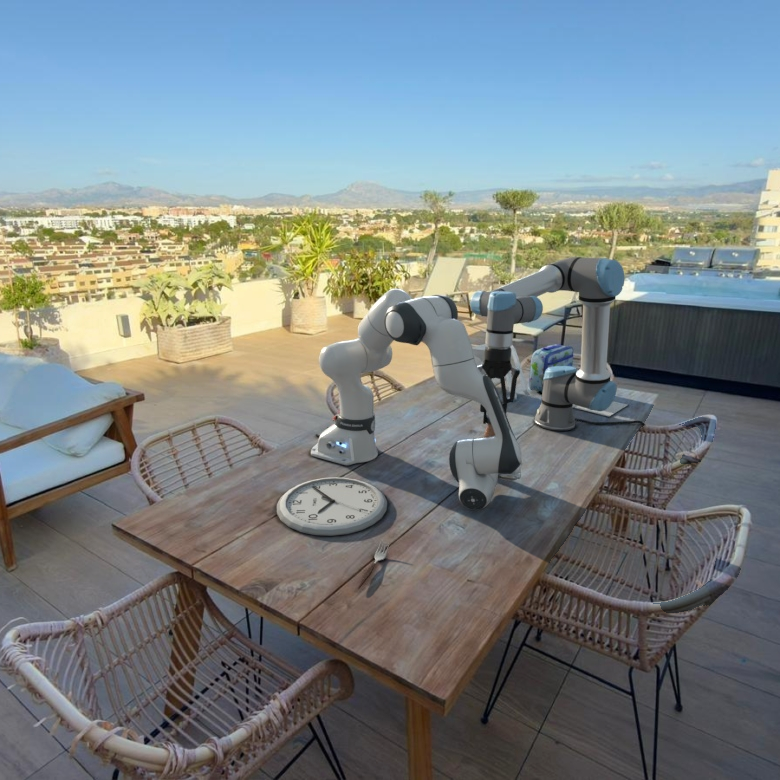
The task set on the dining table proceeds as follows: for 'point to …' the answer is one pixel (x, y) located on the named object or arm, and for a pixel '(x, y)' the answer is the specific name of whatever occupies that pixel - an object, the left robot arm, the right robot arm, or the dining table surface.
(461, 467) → the left robot arm
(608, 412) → the invitation card
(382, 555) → the fork
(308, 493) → the wall clock
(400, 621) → the dining table surface
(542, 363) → the lunch box
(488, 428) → the bottle
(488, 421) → the cap
